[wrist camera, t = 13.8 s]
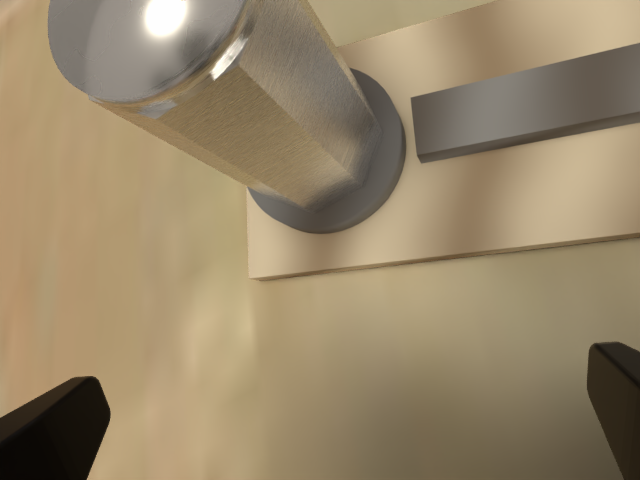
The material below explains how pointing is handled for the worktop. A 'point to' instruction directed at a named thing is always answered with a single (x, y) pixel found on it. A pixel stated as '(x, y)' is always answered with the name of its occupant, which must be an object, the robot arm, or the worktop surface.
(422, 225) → the board
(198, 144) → the silver cylindrical piece
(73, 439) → the robot arm
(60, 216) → the worktop surface
